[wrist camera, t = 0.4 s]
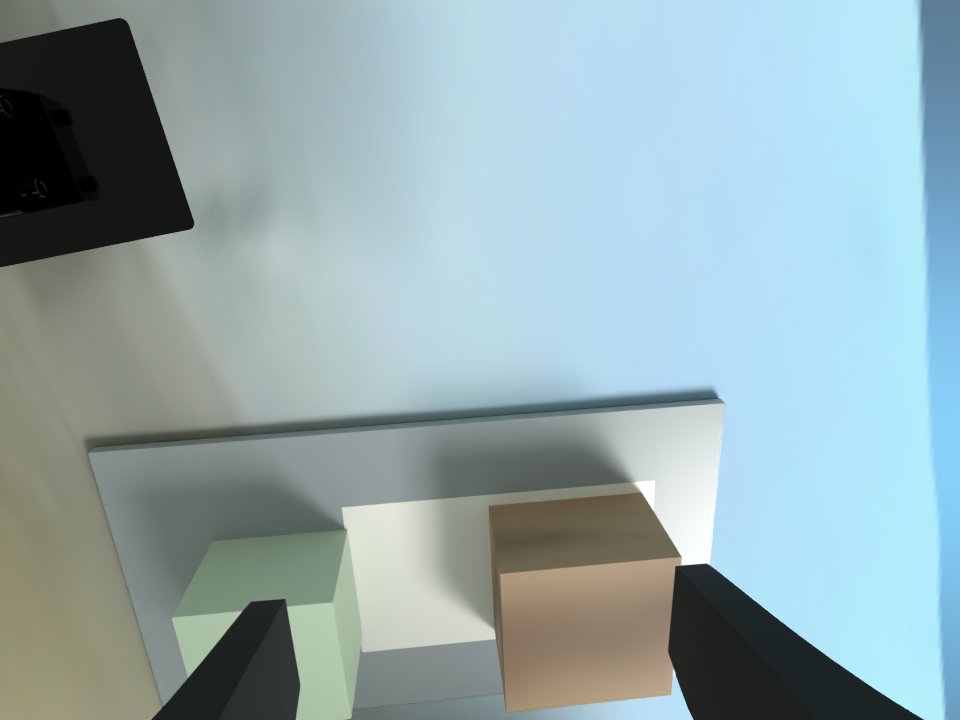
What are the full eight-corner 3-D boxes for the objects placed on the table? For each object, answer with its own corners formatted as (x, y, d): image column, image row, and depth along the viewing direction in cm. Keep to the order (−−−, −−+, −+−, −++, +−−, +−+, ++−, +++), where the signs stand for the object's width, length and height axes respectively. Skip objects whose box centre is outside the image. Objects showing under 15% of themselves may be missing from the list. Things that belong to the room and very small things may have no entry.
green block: (362, 633, 23) (351, 718, 19) (236, 645, 23) (203, 734, 19) (347, 529, 21) (332, 602, 18) (212, 541, 21) (171, 617, 18)
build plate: (694, 664, 25) (699, 672, 25) (173, 719, 24) (169, 729, 24) (719, 398, 21) (725, 403, 21) (94, 447, 20) (87, 452, 20)
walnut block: (635, 615, 24) (671, 694, 20) (494, 629, 23) (506, 712, 20) (642, 492, 22) (681, 556, 18) (488, 506, 21) (500, 574, 18)
